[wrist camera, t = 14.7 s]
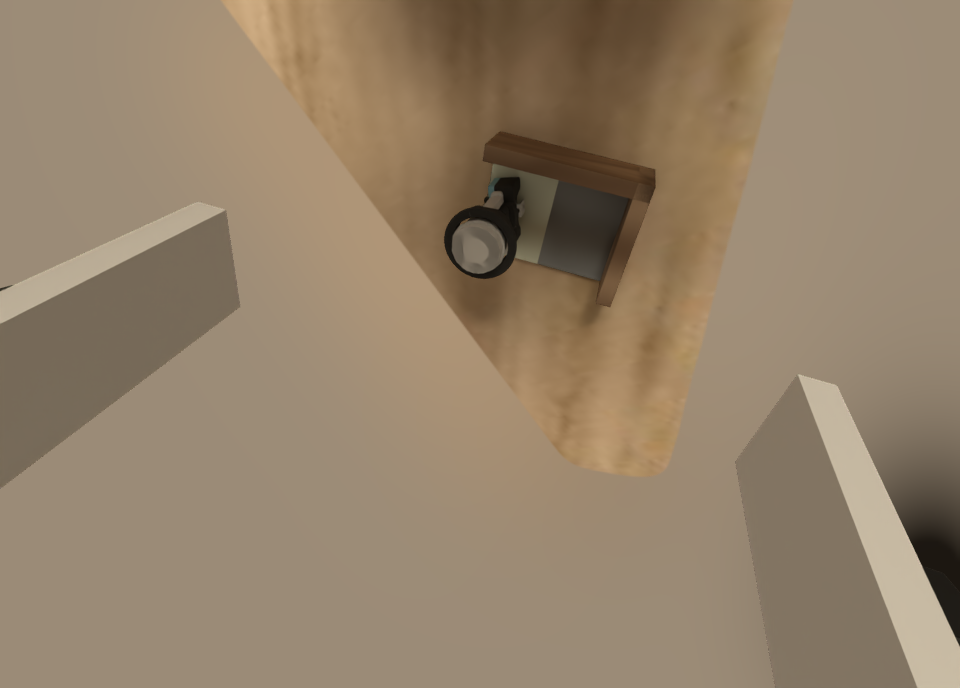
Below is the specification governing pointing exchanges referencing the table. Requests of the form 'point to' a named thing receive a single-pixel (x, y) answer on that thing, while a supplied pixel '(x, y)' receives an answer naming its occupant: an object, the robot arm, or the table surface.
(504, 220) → the push button
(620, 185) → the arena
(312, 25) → the table surface
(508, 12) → the table surface
